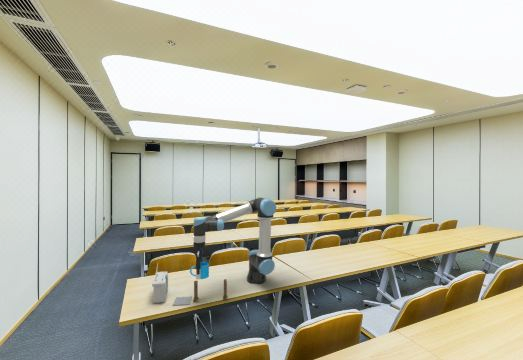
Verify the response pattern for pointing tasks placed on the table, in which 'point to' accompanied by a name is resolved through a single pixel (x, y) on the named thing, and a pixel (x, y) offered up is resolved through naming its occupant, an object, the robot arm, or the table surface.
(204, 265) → the mug
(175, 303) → the grey mat
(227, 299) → the walnut standards
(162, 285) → the stereo radio cassette player
